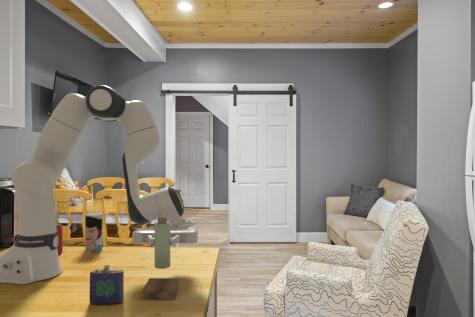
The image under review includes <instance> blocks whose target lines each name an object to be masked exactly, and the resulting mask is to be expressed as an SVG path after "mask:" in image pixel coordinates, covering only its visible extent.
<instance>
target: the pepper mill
mask: <svg viewBox="0 0 475 317" xmlns="http://www.w3.org/2000/svg"><path fill="white" fill-rule="evenodd" d="M156 220H157V221H155V222H154V226H153V227H154V245H153V246H154V248H153V249H154V268H156V269H158V270H159V269H160V270H163V269H168V268H170V267H171V245H170V222H167V219H166V217H164V216H161V217H159V218H158V219H156Z"/></svg>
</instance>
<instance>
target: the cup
mask: <svg viewBox="0 0 475 317" xmlns="http://www.w3.org/2000/svg"><path fill="white" fill-rule="evenodd" d="M103 216H104V215H103V212H88V213H85V216H84V222H85V225H84V226H85V229H84V231H85V232H84V233H85V234H84V235H85V236H84V238H85V239H84V241H85V242H84V244H85V246H84V249H85V250H86V252H87V251H96V252H100V251H102V250H103V249H102V248H103V247H104V246H103V245H104V244H103V241H104V240H103V235H104V234H103V230H104V228H103V224H104V223H103V220H104V219H103Z"/></svg>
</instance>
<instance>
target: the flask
mask: <svg viewBox="0 0 475 317" xmlns="http://www.w3.org/2000/svg"><path fill="white" fill-rule="evenodd" d="M110 267H111V265H110V264H106V265H104V266H103V268H102V269H100V268H96V269H94V270H91V271H90V272H89V305H91V306H105V305H108V306H109V305H110V306H111V305H119V304H120V305H122V304H123V303H124V300H125V296H124V295H125V294H124V290H125V288H124V287H125V286H124V283H125V282H124V281H125V280H124V274H125V273H124V272H125V271H124V270H123V269H116V270H115V269H113V270H110Z"/></svg>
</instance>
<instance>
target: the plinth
mask: <svg viewBox="0 0 475 317" xmlns="http://www.w3.org/2000/svg"><path fill="white" fill-rule="evenodd" d="M179 280H180V279H179V278H178V277H172V278H171V277H167V278H166V277H164V278H163V277H161V278H160V277H150V278H148V280H147V282H146V283H145V285H144V287H143V288H142V300H143V301H175V299H176V298H177V293H178V290H179Z"/></svg>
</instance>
